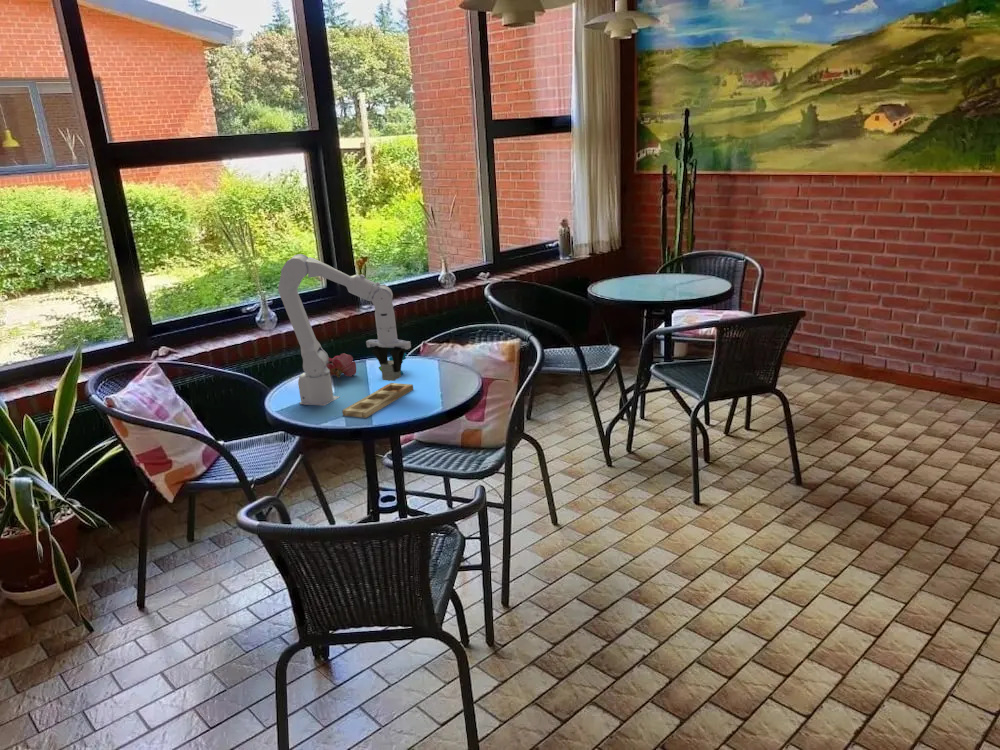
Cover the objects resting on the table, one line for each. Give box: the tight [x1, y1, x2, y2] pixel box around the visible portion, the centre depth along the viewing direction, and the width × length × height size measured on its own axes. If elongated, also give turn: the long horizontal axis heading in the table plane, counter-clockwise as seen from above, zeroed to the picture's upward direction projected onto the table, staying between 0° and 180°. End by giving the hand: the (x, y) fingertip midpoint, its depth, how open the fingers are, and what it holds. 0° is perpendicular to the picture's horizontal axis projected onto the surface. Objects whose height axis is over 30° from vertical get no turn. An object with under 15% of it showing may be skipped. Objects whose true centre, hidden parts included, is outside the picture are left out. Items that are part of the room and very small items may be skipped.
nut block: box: [380, 359, 402, 382], centre depth 223 cm, size 4×4×5 cm
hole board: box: [341, 382, 414, 418], centre depth 219 cm, size 8×25×2 cm, turn 155°
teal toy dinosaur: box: [378, 352, 407, 375], centre depth 246 cm, size 11×6×10 cm
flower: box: [326, 352, 357, 383], centre depth 246 cm, size 11×10×10 cm
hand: (391, 370), depth 223 cm, fingers closed on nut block, 4 cm apart
